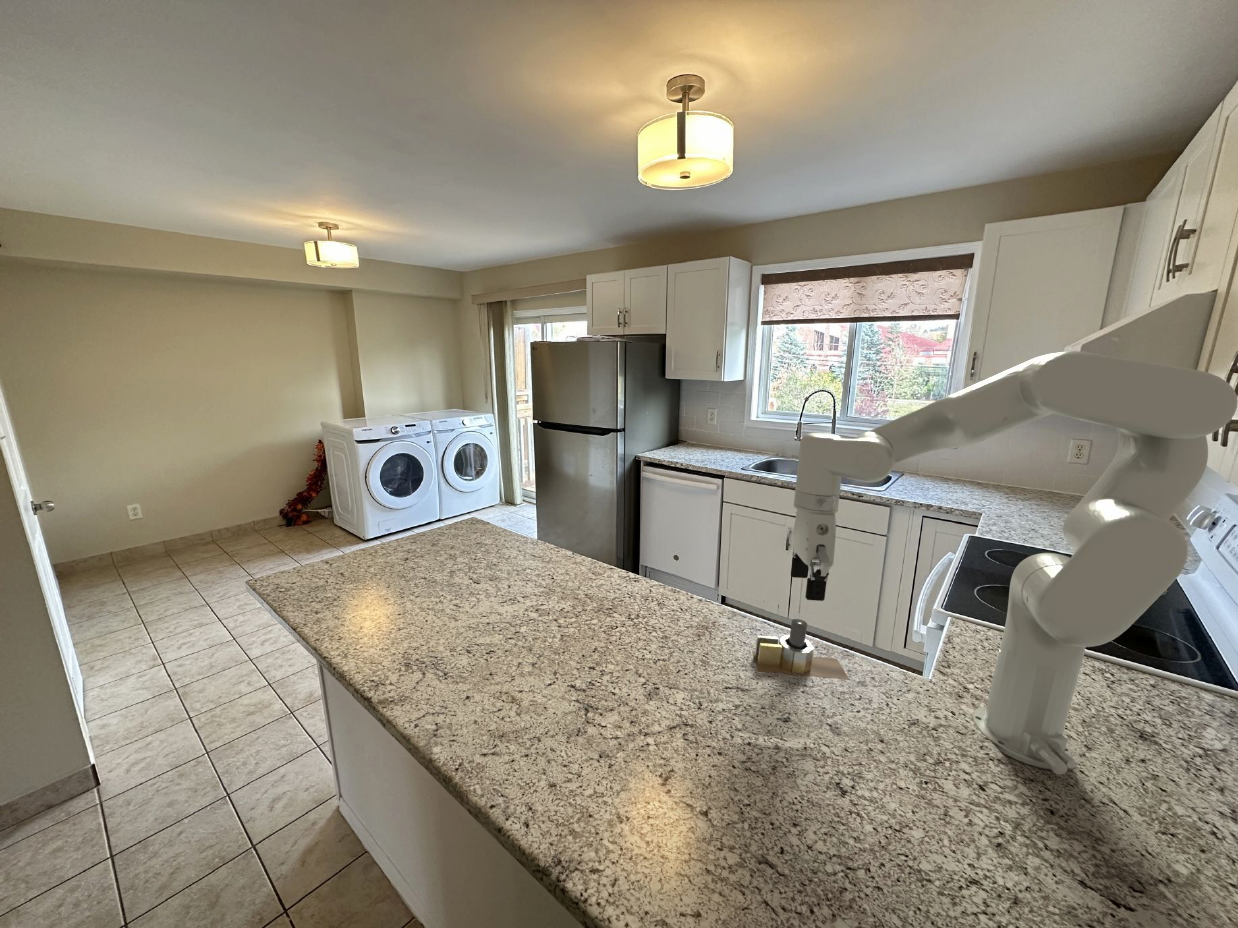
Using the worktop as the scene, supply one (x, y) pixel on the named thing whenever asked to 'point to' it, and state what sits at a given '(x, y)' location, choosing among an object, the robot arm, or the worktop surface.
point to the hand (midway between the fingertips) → (806, 587)
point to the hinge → (783, 654)
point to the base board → (813, 668)
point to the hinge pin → (797, 634)
